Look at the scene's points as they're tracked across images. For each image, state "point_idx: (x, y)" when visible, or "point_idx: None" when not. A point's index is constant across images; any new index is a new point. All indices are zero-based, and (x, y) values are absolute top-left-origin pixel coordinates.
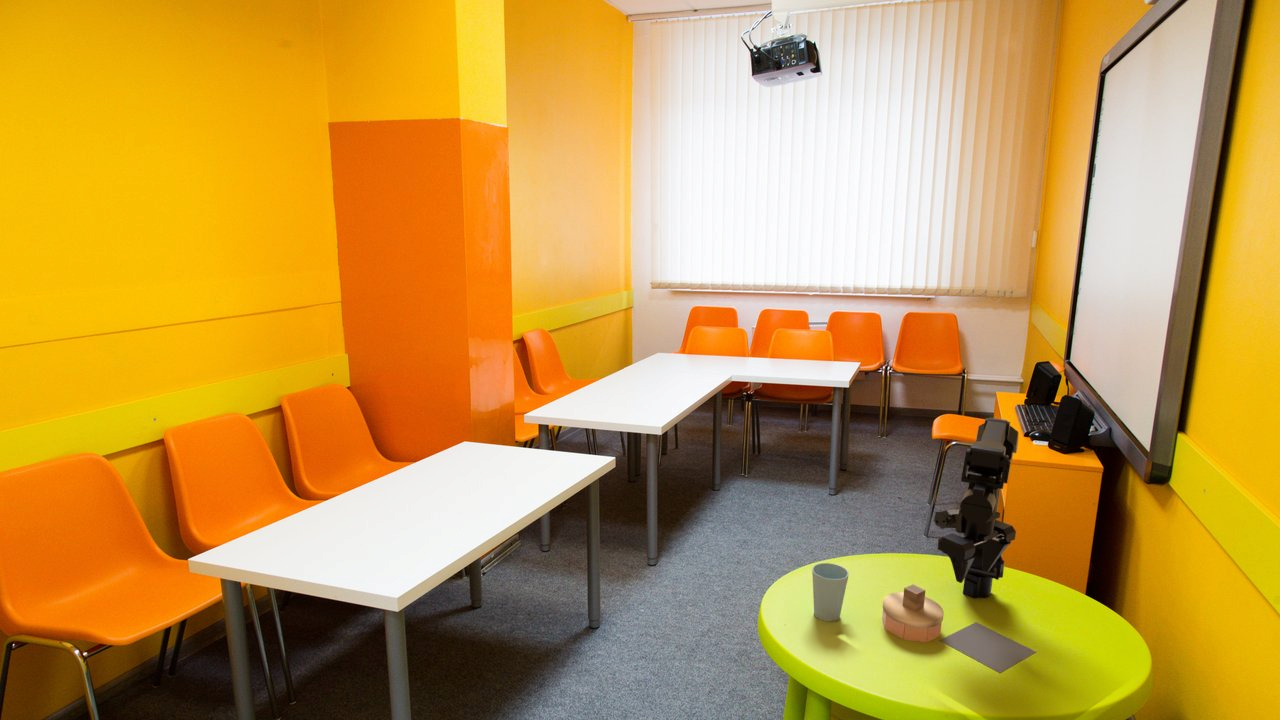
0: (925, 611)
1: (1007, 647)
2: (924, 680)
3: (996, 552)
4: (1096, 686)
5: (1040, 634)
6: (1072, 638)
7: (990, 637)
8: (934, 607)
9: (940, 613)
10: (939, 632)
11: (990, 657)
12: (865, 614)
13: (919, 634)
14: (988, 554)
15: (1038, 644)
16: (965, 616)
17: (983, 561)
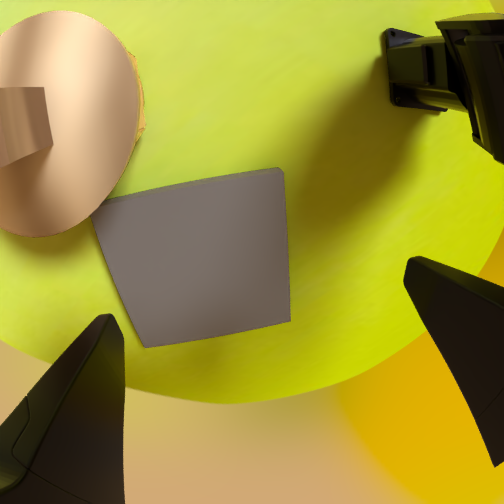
0: (44, 170)
1: (245, 294)
2: (5, 292)
3: (480, 406)
4: (292, 380)
5: (380, 255)
6: None
7: (246, 248)
8: (94, 154)
9: (86, 201)
10: None
11: (167, 309)
12: (28, 12)
13: None
14: (482, 349)
15: (340, 281)
16: (304, 111)
17: (447, 286)
